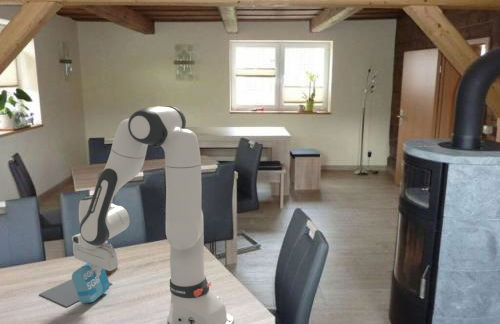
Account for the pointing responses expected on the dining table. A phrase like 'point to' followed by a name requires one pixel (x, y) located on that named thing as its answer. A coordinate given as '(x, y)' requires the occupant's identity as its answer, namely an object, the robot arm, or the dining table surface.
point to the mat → (63, 294)
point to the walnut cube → (111, 271)
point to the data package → (89, 284)
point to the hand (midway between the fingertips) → (96, 275)
